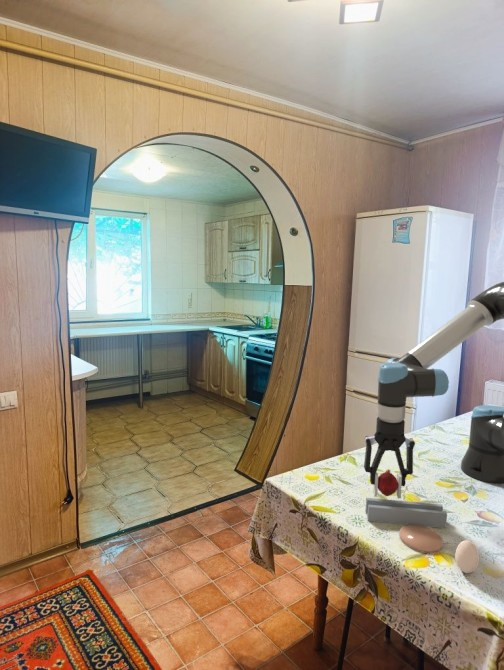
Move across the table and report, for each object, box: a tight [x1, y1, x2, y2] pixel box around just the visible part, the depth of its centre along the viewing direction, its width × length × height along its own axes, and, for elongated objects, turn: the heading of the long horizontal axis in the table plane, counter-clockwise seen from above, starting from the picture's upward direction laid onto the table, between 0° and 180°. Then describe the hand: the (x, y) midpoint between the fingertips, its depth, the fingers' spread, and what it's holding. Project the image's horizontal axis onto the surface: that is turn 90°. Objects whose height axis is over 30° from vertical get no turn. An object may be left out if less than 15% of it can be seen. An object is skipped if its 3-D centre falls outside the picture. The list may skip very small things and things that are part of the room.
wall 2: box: [366, 505, 448, 529], centre depth 114 cm, size 20×1×4 cm, turn 83°
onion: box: [378, 468, 398, 497], centre depth 124 cm, size 6×6×8 cm
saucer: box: [399, 524, 444, 554], centre depth 108 cm, size 10×10×1 cm
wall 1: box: [365, 497, 444, 515], centre depth 118 cm, size 20×1×4 cm, turn 83°
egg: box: [454, 539, 480, 574], centre depth 96 cm, size 5×5×7 cm
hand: (386, 494), depth 124 cm, fingers closed on onion, 6 cm apart
